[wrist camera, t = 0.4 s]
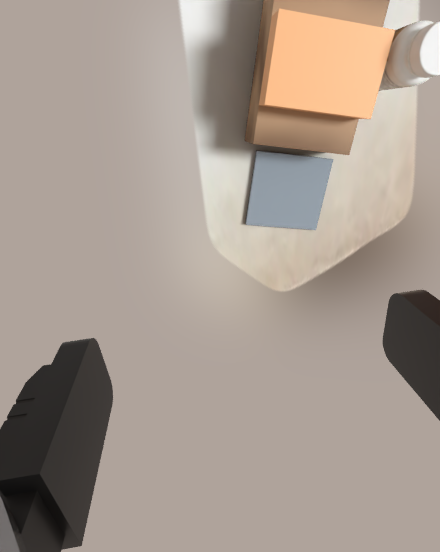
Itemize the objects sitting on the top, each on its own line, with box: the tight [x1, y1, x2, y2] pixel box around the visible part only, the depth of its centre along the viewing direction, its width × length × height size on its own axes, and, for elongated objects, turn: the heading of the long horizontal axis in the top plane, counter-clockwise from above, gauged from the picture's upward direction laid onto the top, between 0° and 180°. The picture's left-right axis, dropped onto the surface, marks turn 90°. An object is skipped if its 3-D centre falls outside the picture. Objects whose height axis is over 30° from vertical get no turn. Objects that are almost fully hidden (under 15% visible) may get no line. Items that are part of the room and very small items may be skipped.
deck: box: [245, 0, 390, 155], centre depth 29 cm, size 12×9×4 cm
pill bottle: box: [379, 21, 440, 90], centre depth 27 cm, size 4×4×8 cm
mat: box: [245, 151, 333, 230], centre depth 35 cm, size 8×8×1 cm
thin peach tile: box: [259, 9, 395, 119], centre depth 26 cm, size 6×9×2 cm, turn 84°
